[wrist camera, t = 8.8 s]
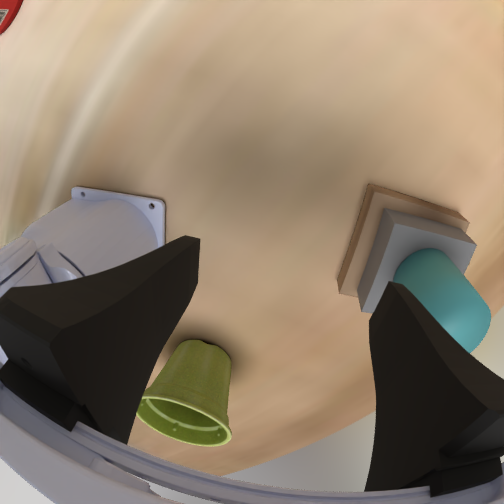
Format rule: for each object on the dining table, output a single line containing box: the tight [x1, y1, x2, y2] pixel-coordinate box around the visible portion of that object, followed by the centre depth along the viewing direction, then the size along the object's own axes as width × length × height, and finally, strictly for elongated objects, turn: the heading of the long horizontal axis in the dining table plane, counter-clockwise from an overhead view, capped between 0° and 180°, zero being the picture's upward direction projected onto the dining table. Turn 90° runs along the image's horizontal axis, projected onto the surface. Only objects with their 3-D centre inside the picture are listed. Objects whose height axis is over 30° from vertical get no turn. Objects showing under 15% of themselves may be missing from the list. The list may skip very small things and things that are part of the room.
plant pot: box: [136, 340, 232, 446], centre depth 26 cm, size 9×9×9 cm
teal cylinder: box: [393, 248, 491, 353], centre depth 14 cm, size 4×4×6 cm
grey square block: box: [357, 208, 477, 313], centre depth 17 cm, size 6×6×2 cm
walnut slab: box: [337, 184, 469, 297], centre depth 20 cm, size 8×8×2 cm
